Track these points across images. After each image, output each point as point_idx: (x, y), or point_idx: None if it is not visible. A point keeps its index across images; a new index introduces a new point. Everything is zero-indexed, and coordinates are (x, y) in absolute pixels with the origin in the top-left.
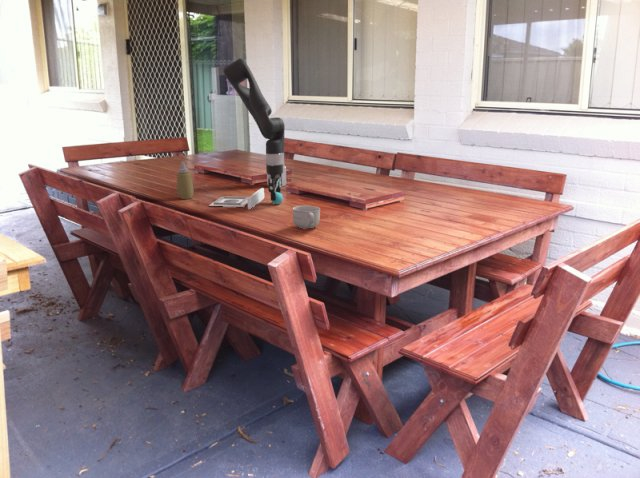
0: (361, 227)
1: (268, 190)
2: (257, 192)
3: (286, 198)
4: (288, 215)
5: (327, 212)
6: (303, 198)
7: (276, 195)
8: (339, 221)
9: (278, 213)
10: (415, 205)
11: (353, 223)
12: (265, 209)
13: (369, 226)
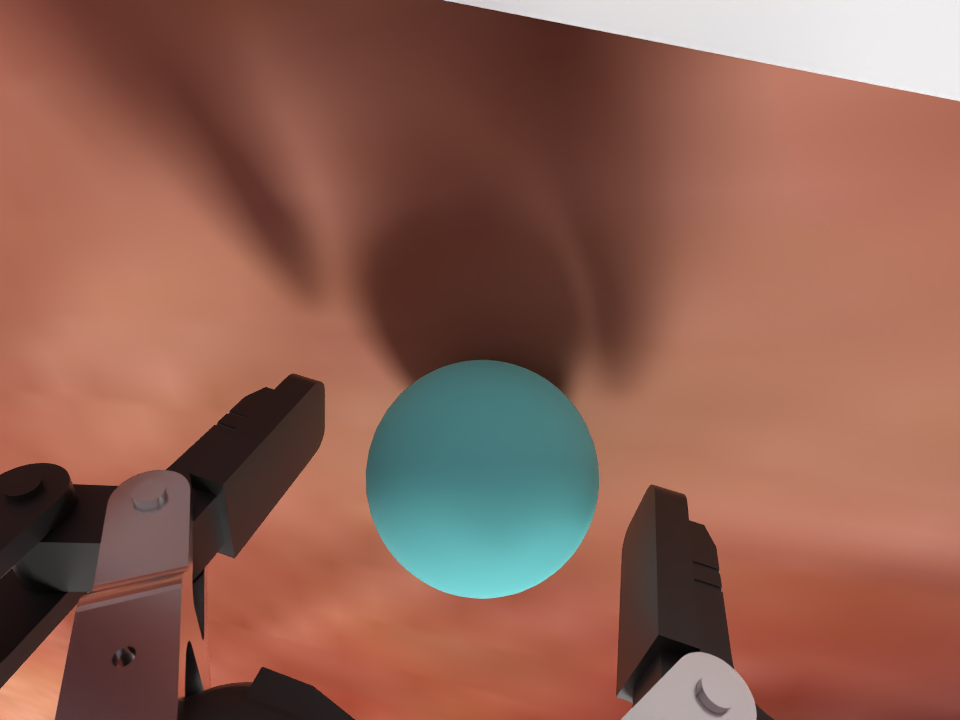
0: (7, 688)
1: (4, 483)
2: (664, 24)
3: (901, 568)
4: (40, 457)
5: (216, 680)
6: (784, 711)
7: (372, 512)
8: (53, 661)
9: (63, 382)
10: None
11: (49, 690)
12: (177, 230)
13: (36, 712)
